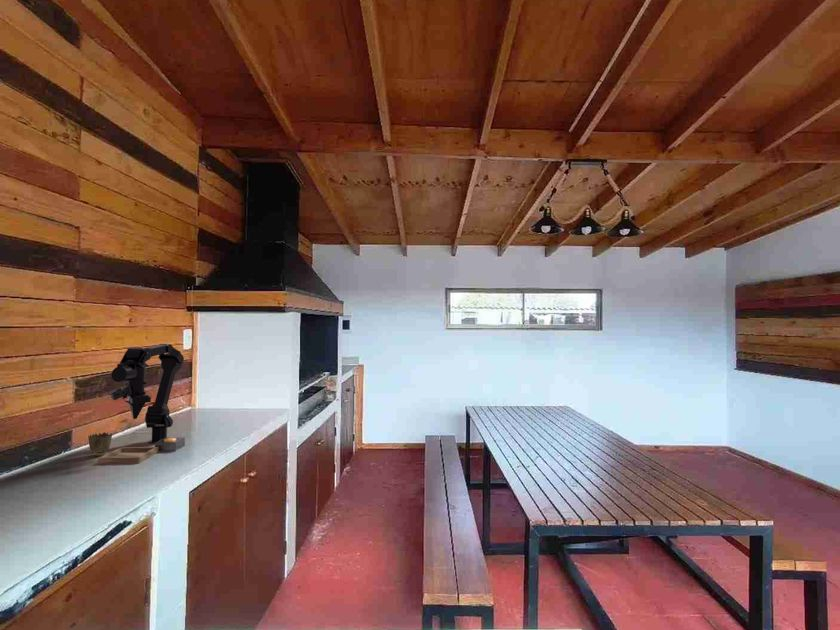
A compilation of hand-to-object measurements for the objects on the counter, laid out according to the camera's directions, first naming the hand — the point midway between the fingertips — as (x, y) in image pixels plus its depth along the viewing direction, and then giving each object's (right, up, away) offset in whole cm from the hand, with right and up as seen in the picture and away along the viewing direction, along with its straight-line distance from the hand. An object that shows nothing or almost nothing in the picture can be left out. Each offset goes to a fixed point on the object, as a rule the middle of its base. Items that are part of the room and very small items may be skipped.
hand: (134, 418), depth 169 cm
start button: (+11, -12, +5) cm, 17 cm away
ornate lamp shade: (-10, -13, -5) cm, 17 cm away
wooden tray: (+3, -13, -8) cm, 15 cm away
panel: (+11, -14, +5) cm, 18 cm away
